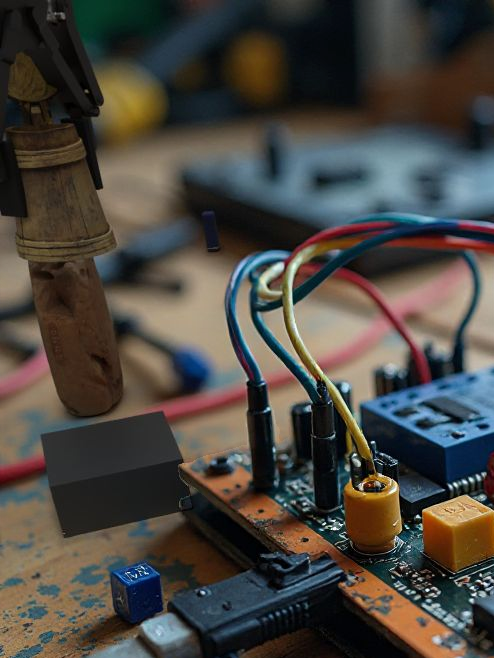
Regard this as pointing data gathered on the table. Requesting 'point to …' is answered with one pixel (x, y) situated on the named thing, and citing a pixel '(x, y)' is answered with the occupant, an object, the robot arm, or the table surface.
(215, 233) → the eraser
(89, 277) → the block
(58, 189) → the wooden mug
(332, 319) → the table surface
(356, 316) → the table surface
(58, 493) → the riser block
